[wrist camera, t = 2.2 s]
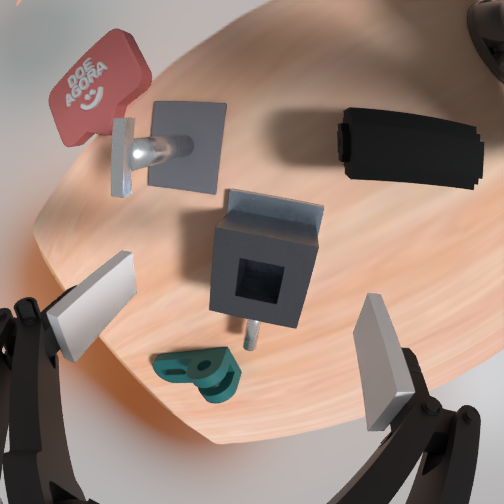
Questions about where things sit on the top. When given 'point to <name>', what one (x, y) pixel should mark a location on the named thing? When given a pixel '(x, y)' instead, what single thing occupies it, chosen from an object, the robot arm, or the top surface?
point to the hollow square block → (264, 260)
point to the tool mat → (205, 144)
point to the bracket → (202, 371)
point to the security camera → (409, 148)
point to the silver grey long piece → (140, 153)
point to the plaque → (99, 88)
